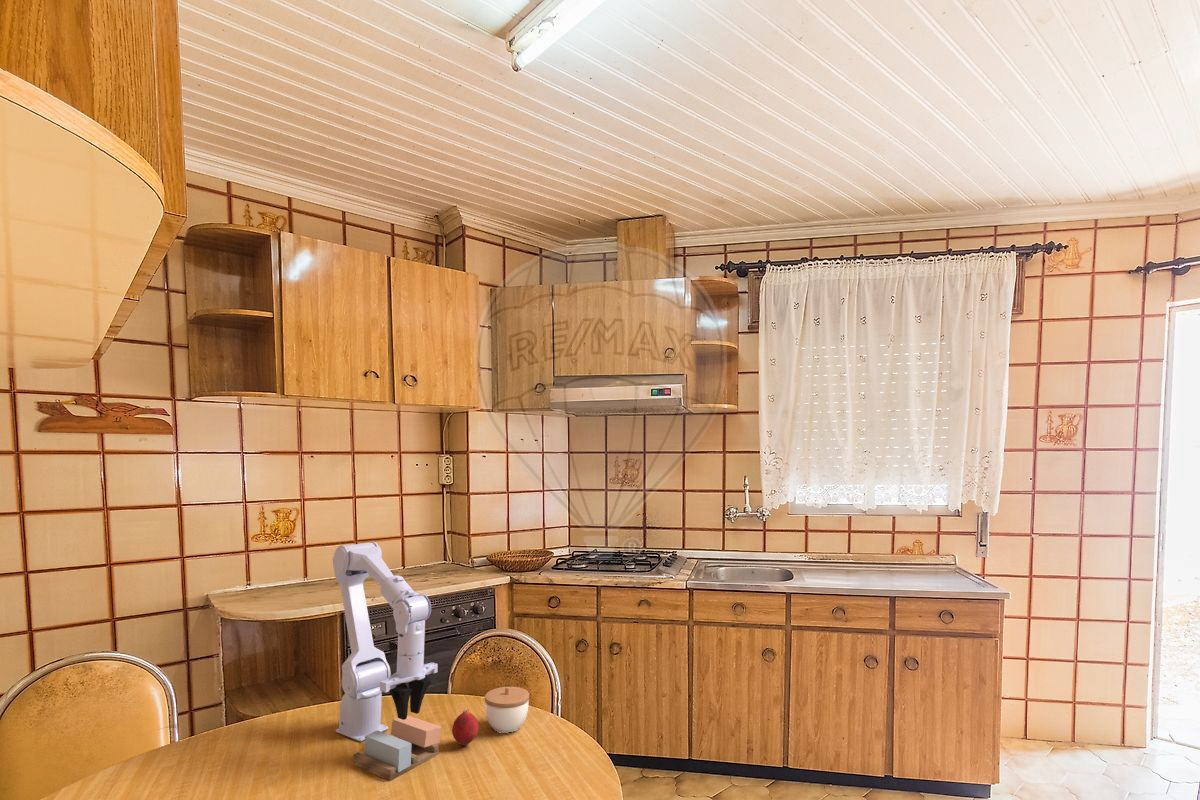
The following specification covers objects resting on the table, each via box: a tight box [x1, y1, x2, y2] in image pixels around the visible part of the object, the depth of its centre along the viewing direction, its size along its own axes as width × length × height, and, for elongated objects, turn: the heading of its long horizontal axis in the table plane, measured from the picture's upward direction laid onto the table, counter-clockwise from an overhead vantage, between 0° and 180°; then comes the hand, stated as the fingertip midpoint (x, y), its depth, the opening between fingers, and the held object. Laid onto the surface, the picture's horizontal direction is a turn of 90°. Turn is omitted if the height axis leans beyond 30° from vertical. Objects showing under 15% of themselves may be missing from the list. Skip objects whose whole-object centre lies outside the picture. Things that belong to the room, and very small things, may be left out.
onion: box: [451, 707, 479, 747], centre depth 136 cm, size 6×6×8 cm
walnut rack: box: [352, 738, 440, 782], centre depth 129 cm, size 12×13×2 cm
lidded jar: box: [484, 686, 530, 734], centre depth 145 cm, size 11×11×9 cm
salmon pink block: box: [390, 715, 443, 748], centre depth 134 cm, size 11×3×4 cm
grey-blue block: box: [363, 730, 412, 772], centre depth 127 cm, size 11×3×4 cm, turn 58°
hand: (408, 715), depth 132 cm, fingers open, 3 cm apart
